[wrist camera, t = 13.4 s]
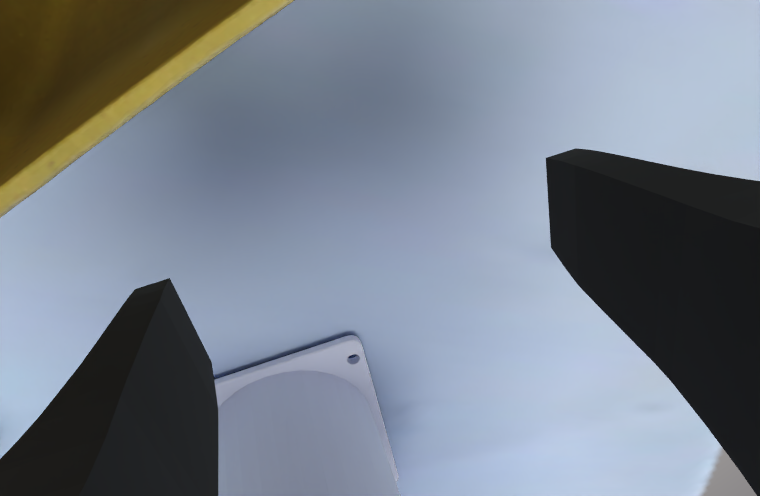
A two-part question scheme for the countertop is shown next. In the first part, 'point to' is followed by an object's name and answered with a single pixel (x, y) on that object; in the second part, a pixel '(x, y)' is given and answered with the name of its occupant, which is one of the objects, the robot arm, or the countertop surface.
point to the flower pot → (97, 72)
